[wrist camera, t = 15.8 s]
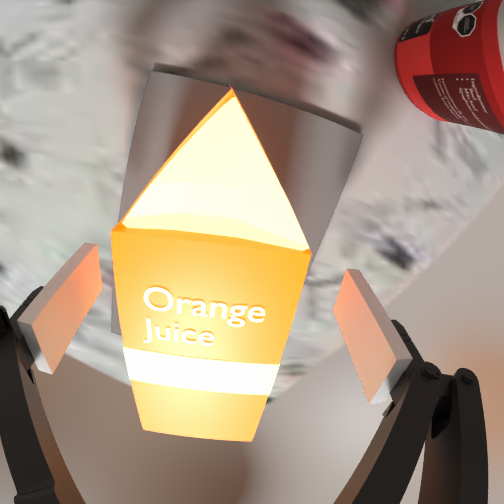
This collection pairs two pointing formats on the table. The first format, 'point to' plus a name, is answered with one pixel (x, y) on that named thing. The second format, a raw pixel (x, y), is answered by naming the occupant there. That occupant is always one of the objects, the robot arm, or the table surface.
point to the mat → (269, 135)
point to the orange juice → (208, 282)
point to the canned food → (456, 65)
